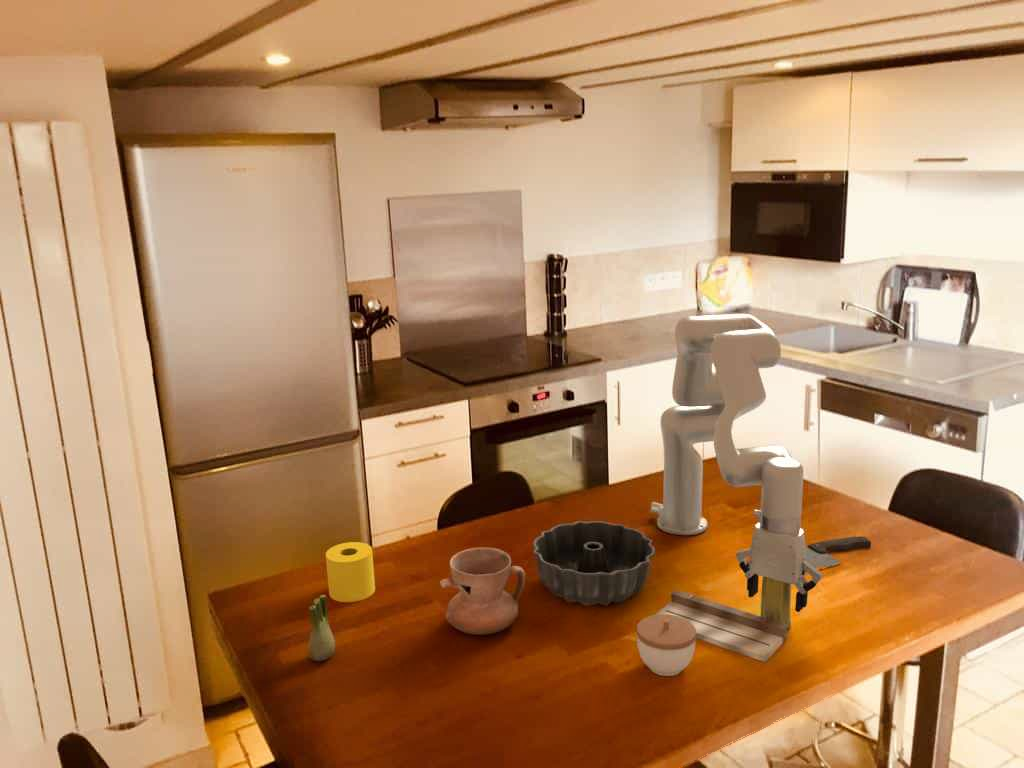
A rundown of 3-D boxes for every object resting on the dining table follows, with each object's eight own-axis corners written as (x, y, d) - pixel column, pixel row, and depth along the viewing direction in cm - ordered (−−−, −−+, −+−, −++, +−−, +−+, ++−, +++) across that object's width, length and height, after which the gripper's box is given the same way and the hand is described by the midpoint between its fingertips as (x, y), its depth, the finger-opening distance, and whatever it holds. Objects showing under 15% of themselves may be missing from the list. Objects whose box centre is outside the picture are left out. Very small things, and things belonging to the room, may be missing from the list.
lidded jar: (682, 690, 151) (683, 642, 149) (626, 673, 157) (626, 626, 155) (703, 660, 160) (705, 614, 158) (650, 645, 166) (650, 601, 163)
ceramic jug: (452, 650, 166) (448, 583, 163) (433, 615, 179) (430, 552, 176) (539, 632, 172) (537, 566, 168) (515, 599, 185) (513, 537, 181)
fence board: (651, 622, 174) (651, 608, 173) (675, 602, 181) (676, 588, 180) (765, 662, 159) (765, 646, 158) (786, 638, 166) (787, 623, 166)
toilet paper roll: (384, 589, 191) (381, 550, 189) (348, 606, 184) (344, 566, 181) (356, 576, 198) (353, 538, 195) (320, 592, 190) (316, 553, 188)
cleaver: (856, 539, 209) (856, 531, 208) (886, 555, 200) (887, 547, 200) (755, 563, 199) (755, 555, 198) (783, 582, 190) (783, 573, 189)
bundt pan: (680, 594, 185) (680, 551, 183) (580, 630, 172) (580, 585, 169) (604, 550, 207) (604, 511, 204) (511, 580, 194) (510, 539, 191)
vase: (791, 618, 174) (794, 553, 170) (790, 633, 168) (793, 566, 165) (759, 614, 176) (762, 549, 172) (757, 629, 170) (760, 562, 167)
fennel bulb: (326, 646, 169) (321, 590, 166) (343, 654, 166) (338, 598, 163) (302, 659, 164) (297, 602, 161) (319, 668, 161) (313, 610, 158)
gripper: (729, 517, 169) (727, 596, 173) (817, 539, 158) (812, 623, 162) (746, 505, 174) (743, 582, 179) (832, 525, 164) (826, 607, 168)
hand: (776, 601), depth 171 cm, fingers open, 9 cm apart
